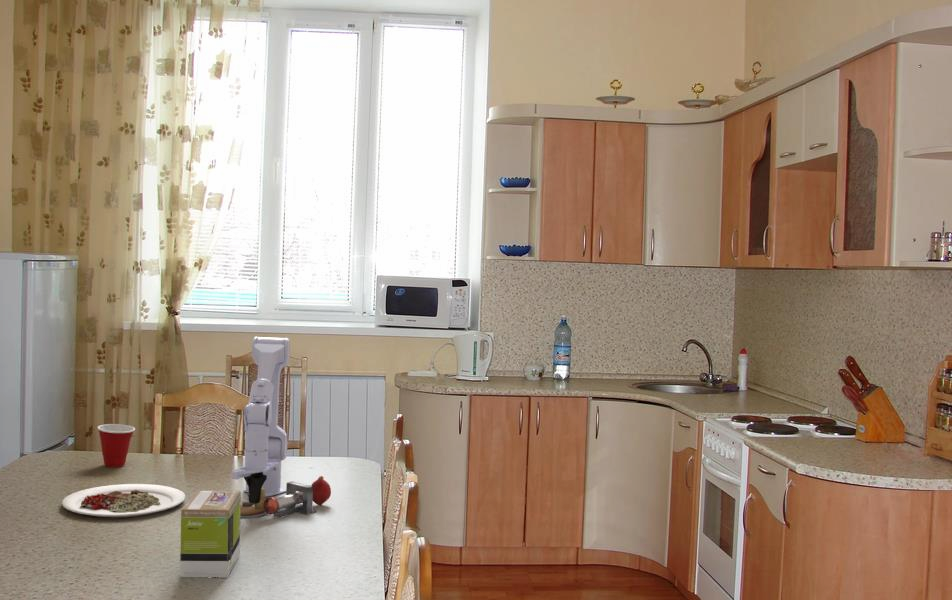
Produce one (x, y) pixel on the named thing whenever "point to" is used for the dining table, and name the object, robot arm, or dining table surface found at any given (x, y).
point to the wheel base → (253, 515)
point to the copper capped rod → (282, 502)
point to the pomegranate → (321, 491)
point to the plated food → (123, 500)
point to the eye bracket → (299, 508)
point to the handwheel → (253, 505)
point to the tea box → (210, 534)
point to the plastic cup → (115, 443)
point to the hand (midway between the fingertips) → (254, 502)
